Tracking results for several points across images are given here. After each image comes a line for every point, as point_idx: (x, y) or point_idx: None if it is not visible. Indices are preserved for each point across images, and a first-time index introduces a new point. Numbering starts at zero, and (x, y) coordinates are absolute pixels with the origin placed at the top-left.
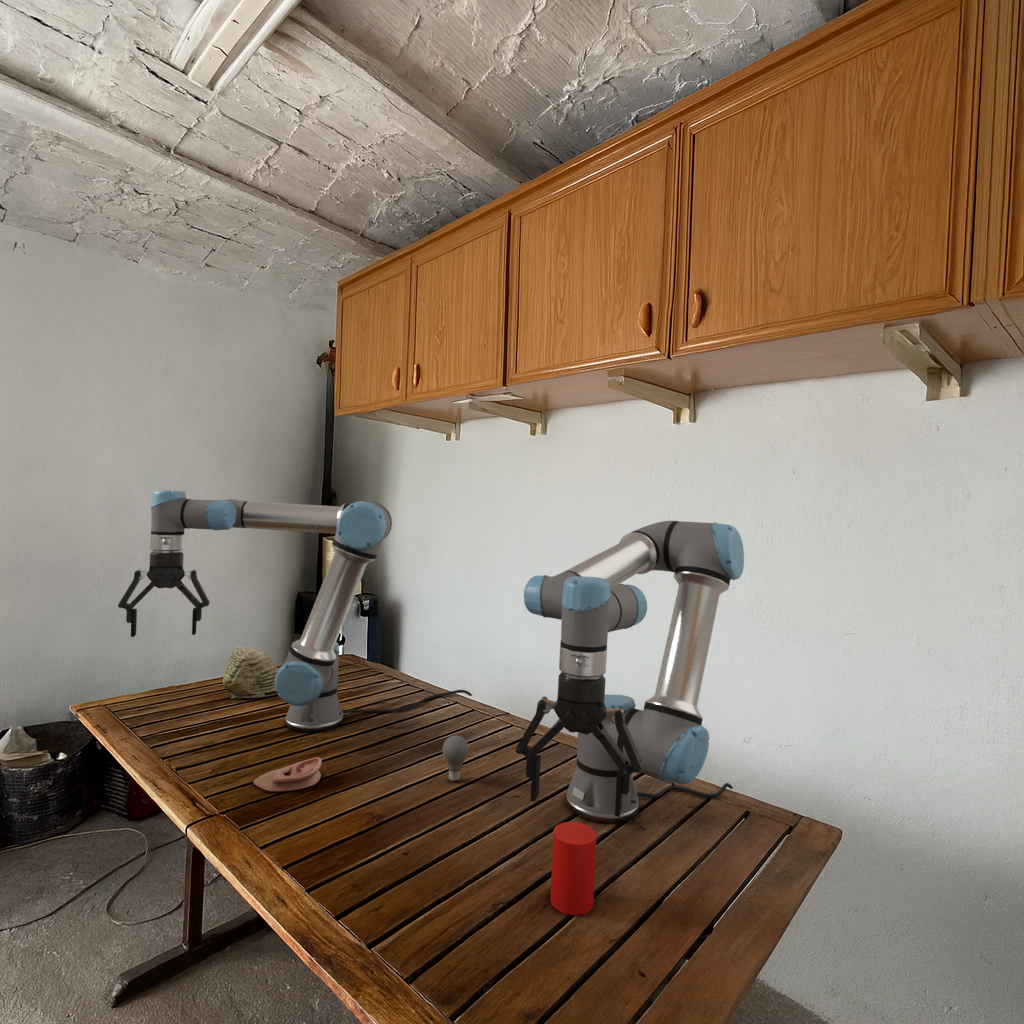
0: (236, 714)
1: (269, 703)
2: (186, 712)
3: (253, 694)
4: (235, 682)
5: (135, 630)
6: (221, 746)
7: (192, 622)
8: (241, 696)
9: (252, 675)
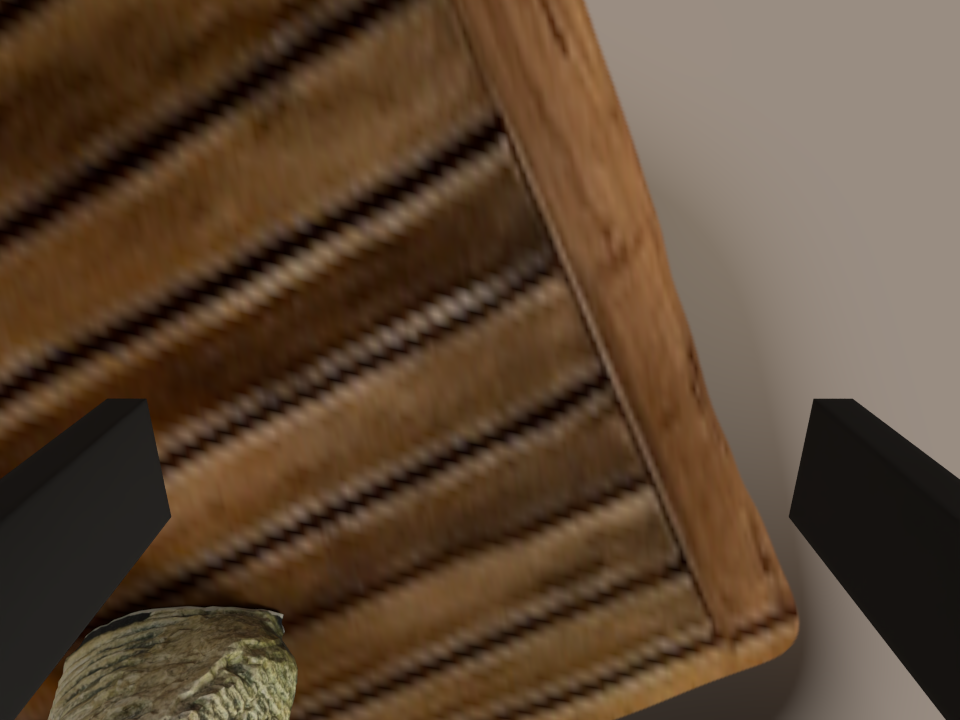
0: (225, 441)
1: None
2: (424, 505)
3: (188, 616)
4: (230, 642)
5: (829, 508)
6: (209, 57)
7: (33, 487)
8: (237, 613)
9: (150, 673)
